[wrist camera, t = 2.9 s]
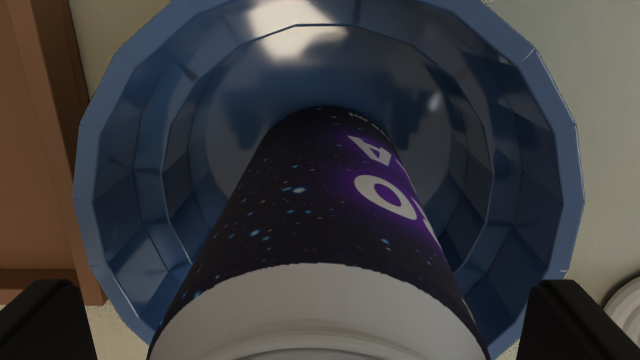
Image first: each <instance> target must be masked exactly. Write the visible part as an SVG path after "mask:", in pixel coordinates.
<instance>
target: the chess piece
mask: <svg viewBox="0 0 640 360" xmlns="http://www.w3.org/2000/svg"><path fill="white" fill-rule="evenodd" d="M603 310H604V311H605V312H606V314H607V315H608V316H609V317H610V318H611V319H612V320H613V321H614V322H615V323H616V324H617V325H618V326H619V327H620V328H621V329H622V330H623V331H624V332H625V333H626V334H627V335H628V337H629V338H630V339H631V340H632V341H633V342H634V343H635V344H636V345H637V346H638V347H639V348H640V276H639V277H637V278H635V279H633V280H632V281H630V282H628V283H627V284H625V285H624V286H623V287H621V288H620V289H619V290H618V291H617V292H616V293H615V294H614V295H613V296H612V297H611V298H610V300H609V301H608V303H607V304H606V306H605V307H604V309H603Z"/></svg>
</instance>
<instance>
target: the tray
mask: <svg viewBox="0 0 640 360" xmlns="http://www.w3.org/2000/svg"><path fill="white" fill-rule="evenodd" d="M88 105H89V100H88V96H87V91H86V86H85V82H84V77H83V72H82V67H81V63H80V58H79V53H78V48H77V44H76V39H75V34H74V30H73V25H72V20H71V15H70V11H69V6H68V1H67V0H0V305H7V304H9V303H10V302H11V301H12V300H13V299H14V298H15V297H16V296H18V295H19V294H20V293H21V292H22V291H23V290H24V289H25V288H27V287H28V286H29V285H30V284H31V283H32V282H34V281H35V280H37V279H68V280H70V281H71V282H72V283H73V286H77V287H78V288H79V289H80V291H81V294H82V298H83V302H84V305H86V306H103V305H104V304H105V303H106V301H107V300H108V299H109V298H108V297H107V295H106V294H105V292H104V290H103V289H102V287H101V286H100V284H99V282H98V281H97V279H96V277H95V276H94V274H93V273H92V271H91V269H90V266H89V265H88V262H87V258H86V254H85V250H84V246H83V242H82V238H81V234H80V230H79V226H78V222H77V218H76V214H75V209H74V205H73V201H72V199H73V197H72V191H73V182H74V172H75V162H76V152H77V142H78V132H79V126H80V121H81V119H82V117H83V115H84V113H85V111H86V109H87V107H88Z"/></svg>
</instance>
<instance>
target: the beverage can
mask: <svg viewBox="0 0 640 360" xmlns="http://www.w3.org/2000/svg"><path fill="white" fill-rule="evenodd" d="M146 360H491V358H490V355H489V352H488V349H487V346H486V344H485V342H484V340H483V338H482V335H481V333H480V331H479V329H478V327H477V324H476V322H475V320H474V318H473V316H472V314H471V311H470V309H469V307H468V305H467V303H466V301H465V298H464V296H463V294H462V292H461V290H460V288H459V285H458V283H457V281H456V279H455V277H454V274H453V272H452V270H451V268H450V266H449V264H448V261H447V259H446V257H445V255H444V253H443V251H442V248H441V246H440V244H439V242H438V240H437V238H436V235H435V233H434V231H433V229H432V227H431V225H430V222H429V220H428V218H427V216H426V214H425V211H424V209H423V207H422V205H421V203H420V201H419V198H418V196H417V194H416V192H415V190H414V188H413V185H412V183H411V181H410V179H409V177H408V175H407V172H406V170H405V168H404V166H403V164H402V161H401V159H400V157H399V155H398V153H397V151H396V148H395V146H394V144H393V143H392V141H391V139H390V138H389V137H388V135H387V134H386V133H385V132H384V130H383V129H382V128H381V127H380V126H378V125H377V124H376V123H375V122H374V121H372V120H371V119H369V118H368V117H366V116H364V115H362V114H360V113H358V112H356V111H353V110H350V109H347V108H343V107H337V106H316V107H310V108H306V109H302V110H299V111H297V112H294V113H292V114H290V115H288V116H286V117H285V118H283V119H282V120H280V121H279V122H278V123H276V124H275V125H274V126H273V127H272V128H271V129H270V130H269V131H268V132H267V134H266V135H265V136H264V138H263V139H262V141H261V142H260V144H259V146H258V148H257V149H256V151H255V153H254V155H253V157H252V158H251V160H250V162H249V164H248V166H247V167H246V169H245V171H244V173H243V175H242V176H241V178H240V180H239V182H238V184H237V185H236V187H235V189H234V191H233V193H232V194H231V196H230V198H229V200H228V202H227V203H226V205H225V207H224V209H223V211H222V213H221V214H220V216H219V218H218V220H217V222H216V223H215V225H214V227H213V229H212V231H211V232H210V234H209V236H208V238H207V240H206V241H205V243H204V245H203V247H202V249H201V250H200V252H199V254H198V256H197V258H196V259H195V261H194V263H193V265H192V267H191V268H190V270H189V272H188V274H187V276H186V277H185V279H184V281H183V283H182V285H181V286H180V288H179V290H178V292H177V294H176V295H175V297H174V299H173V301H172V303H171V304H170V306H169V308H168V310H167V312H166V313H165V315H164V317H163V319H162V321H161V322H160V324H159V326H158V328H157V330H156V332H155V334H154V336H153V338H152V341H151V344H150V347H149V349H148V354H147V358H146Z"/></svg>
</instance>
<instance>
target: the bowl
mask: <svg viewBox="0 0 640 360" xmlns="http://www.w3.org/2000/svg"><path fill="white" fill-rule="evenodd" d="M316 106H337V107H343V108H347V109H350V110H353V111H356V112H358V113H360V114H362V115H364V116H366V117H368V118H369V119H371V120H372V121H374V122H375V123H376V124H377V125H378V126H380V127H381V128H382V129H383V130H384V132H385V133H386V134H387V135H388V137H389V138H390V139H391V141H392V143H393V144H394V146H395V148H396V151H397V153H398V155H399V157H400V159H401V161H402V164H403V166H404V168H405V170H406V172H407V175H408V177H409V179H410V181H411V183H412V185H413V188H414V190H415V192H416V194H417V196H418V198H419V201H420V203H421V205H422V207H423V209H424V211H425V214H426V216H427V218H428V220H429V222H430V225H431V227H432V229H433V231H434V233H435V235H436V238H437V240H438V242H439V244H440V246H441V248H442V251H443V253H444V255H445V257H446V259H447V261H448V264H449V266H450V268H451V270H452V272H453V274H454V277H455V279H456V281H457V283H458V285H459V288H460V290H461V292H462V294H463V296H464V298H465V301H466V303H467V305H468V307H469V309H470V311H471V314H472V316H473V318H474V320H475V322H476V324H477V327H478V329H479V331H480V333H481V335H482V338H483V340H484V342H485V344H486V346H487V349H488V352H489V355H490V358H491V360H495V359H497V358H498V357H499V356H500V355H501V354H502V353H503V352H505V351H506V350H507V349H508V348H509V347H510V346H512V345H513V344H514V343H515V342H516V341H517V340H519V339H520V337H521V332H522V327H523V322H524V317H525V312H526V307H527V302H528V297H529V293H530V290H531V288H532V287H537V286H538V284H539V282H540V281H541V280H544V279H563V277H564V276H565V274H566V273H567V270H568V269H569V265H570V261H571V257H572V253H573V249H574V245H575V241H576V237H577V233H578V229H579V225H580V221H581V217H582V213H583V209H584V205H585V194H584V185H583V177H582V168H581V159H580V151H579V142H578V134H577V125H576V124H575V120H574V118H573V116H572V114H571V112H570V110H569V108H568V107H567V105H566V103H565V101H564V99H563V97H562V95H561V93H560V92H559V90H558V88H557V86H556V84H555V82H554V80H553V79H552V77H551V75H550V73H549V71H548V69H547V67H546V65H545V64H544V62H543V60H542V58H541V56H540V54H539V52H538V50H536V49H535V47H534V46H533V45H532V44H531V43H530V42H529V41H528V40H526V39H525V38H524V37H523V36H522V35H521V34H519V33H518V32H517V31H516V30H515V29H514V28H512V27H511V26H510V25H509V24H508V23H507V22H505V21H504V20H503V19H502V18H501V17H499V16H498V15H497V14H496V13H495V12H494V11H492V10H491V9H490V8H489V7H488V6H487V5H485V4H484V3H483V2H482V1H481V0H172V1H171V2H170V3H168V4H167V5H166V6H165V7H164V8H163V9H162V10H161V11H160V12H158V13H157V14H156V15H155V16H154V17H153V18H152V19H151V20H150V21H148V22H147V23H146V24H145V25H144V26H143V27H142V28H141V29H140V30H138V31H137V32H136V33H135V34H134V35H133V36H132V37H131V38H130V39H128V40H127V41H126V42H125V43H124V44H123V45H122V46H121V47H120V48H118V50H117V52H115V54H114V56H113V58H112V60H111V62H110V64H109V66H108V68H107V70H106V72H105V74H104V76H103V78H102V80H101V82H100V84H99V85H98V87H97V89H96V91H95V93H94V95H93V97H92V99H91V101H90V103H89V105H88V107H87V109H86V111H85V113H84V115H83V117H82V119H81V121H80V126H79V132H78V142H77V152H76V162H75V172H74V182H73V191H72V197H73V199H72V201H73V205H74V209H75V214H76V218H77V222H78V226H79V230H80V234H81V238H82V242H83V246H84V250H85V254H86V258H87V262H88V265H89V266H90V269H91V271H92V273H93V274H94V276H95V277H96V279H97V281H98V282H99V284H100V286H101V287H102V289H103V290H104V292H105V294H106V295H107V297H108V298H109V300H110V302H111V303H112V305H113V306H114V308H115V310H116V311H117V313H118V315H119V316H120V318H121V319H122V321H123V322H124V323H125V325H126V326H127V327H128V328H129V329H131V330H132V331H133V332H134V333H135V334H136V335H137V336H138V337H139V338H141V339H142V340H143V341H144V342H145V343H146V344H147V345H148V346H149V347H150V344H151V341H152V338H153V336H154V334H155V332H156V330H157V328H158V326H159V324H160V322H161V321H162V319H163V317H164V315H165V313H166V312H167V310H168V308H169V306H170V304H171V303H172V301H173V299H174V297H175V295H176V294H177V292H178V290H179V288H180V286H181V285H182V283H183V281H184V279H185V277H186V276H187V274H188V272H189V270H190V268H191V267H192V265H193V263H194V261H195V259H196V258H197V256H198V254H199V252H200V250H201V249H202V247H203V245H204V243H205V241H206V240H207V238H208V236H209V234H210V232H211V231H212V229H213V227H214V225H215V223H216V222H217V220H218V218H219V216H220V214H221V213H222V211H223V209H224V207H225V205H226V203H227V202H228V200H229V198H230V196H231V194H232V193H233V191H234V189H235V187H236V185H237V184H238V182H239V180H240V178H241V176H242V175H243V173H244V171H245V169H246V167H247V166H248V164H249V162H250V160H251V158H252V157H253V155H254V153H255V151H256V149H257V148H258V146H259V144H260V142H261V141H262V139H263V138H264V136H265V135H266V134H267V132H268V131H269V130H270V129H271V128H272V127H273V126H274V125H275V124H276V123H278V122H279V121H280V120H282V119H283V118H285V117H286V116H288V115H290V114H292V113H294V112H297V111H299V110H302V109H306V108H310V107H316Z"/></svg>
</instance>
